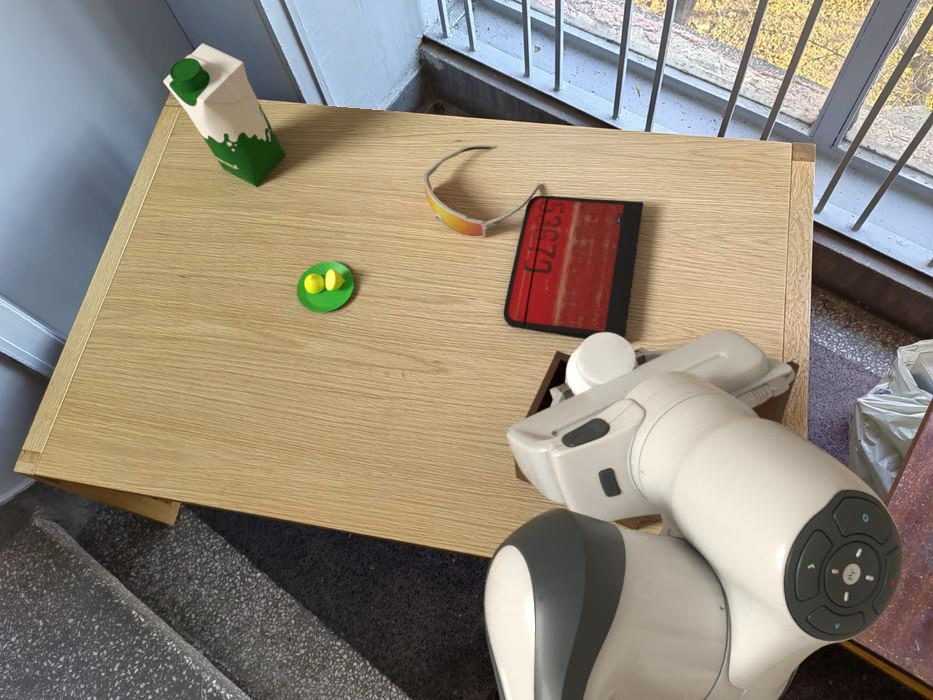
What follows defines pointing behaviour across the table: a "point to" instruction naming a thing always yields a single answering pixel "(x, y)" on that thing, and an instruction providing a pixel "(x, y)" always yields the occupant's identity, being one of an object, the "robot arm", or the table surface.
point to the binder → (574, 266)
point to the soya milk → (226, 112)
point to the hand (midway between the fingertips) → (597, 375)
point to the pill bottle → (599, 361)
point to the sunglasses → (455, 219)
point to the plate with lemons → (325, 286)
